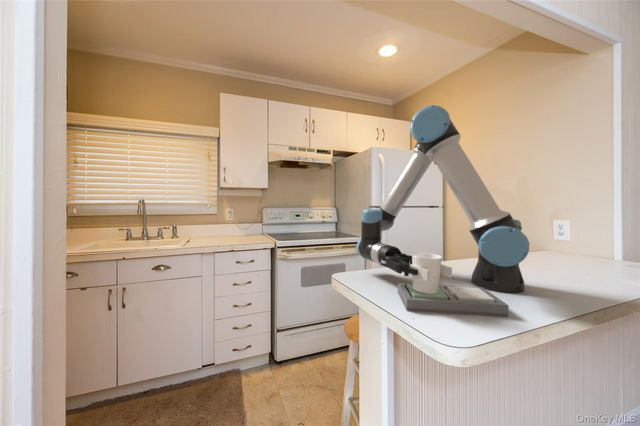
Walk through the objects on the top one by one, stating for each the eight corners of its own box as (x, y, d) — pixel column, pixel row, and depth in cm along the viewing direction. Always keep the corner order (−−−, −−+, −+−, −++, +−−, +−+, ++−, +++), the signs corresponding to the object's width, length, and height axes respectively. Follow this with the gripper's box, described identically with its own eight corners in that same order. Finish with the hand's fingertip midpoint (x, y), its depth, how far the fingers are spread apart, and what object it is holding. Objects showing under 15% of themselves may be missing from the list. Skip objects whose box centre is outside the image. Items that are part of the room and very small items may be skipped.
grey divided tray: (481, 297, 79) (482, 287, 78) (507, 316, 66) (508, 305, 65) (397, 292, 82) (398, 283, 81) (406, 310, 69) (407, 299, 68)
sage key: (436, 289, 78) (436, 285, 78) (447, 300, 69) (447, 297, 69) (406, 287, 79) (406, 284, 79) (413, 298, 70) (413, 295, 70)
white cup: (443, 296, 70) (445, 259, 69) (412, 293, 71) (414, 257, 71) (436, 286, 77) (438, 253, 77) (408, 284, 79) (410, 251, 78)
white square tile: (478, 291, 77) (478, 287, 76) (494, 303, 68) (494, 299, 68) (446, 289, 78) (447, 286, 78) (458, 301, 69) (459, 297, 69)
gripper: (408, 263, 95) (465, 283, 74) (361, 268, 87) (409, 292, 66) (409, 243, 94) (467, 257, 73) (361, 246, 86) (410, 263, 65)
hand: (439, 274), depth 69 cm, fingers closed on white cup, 7 cm apart
